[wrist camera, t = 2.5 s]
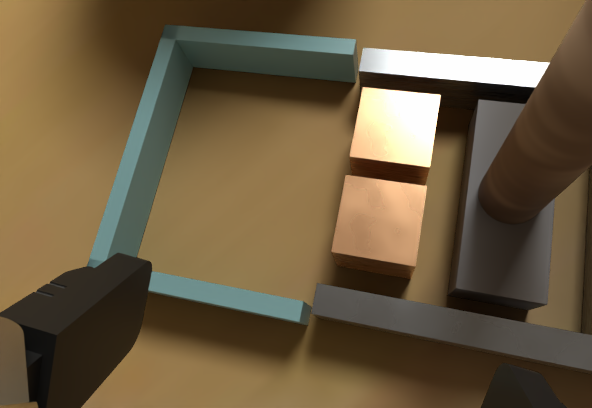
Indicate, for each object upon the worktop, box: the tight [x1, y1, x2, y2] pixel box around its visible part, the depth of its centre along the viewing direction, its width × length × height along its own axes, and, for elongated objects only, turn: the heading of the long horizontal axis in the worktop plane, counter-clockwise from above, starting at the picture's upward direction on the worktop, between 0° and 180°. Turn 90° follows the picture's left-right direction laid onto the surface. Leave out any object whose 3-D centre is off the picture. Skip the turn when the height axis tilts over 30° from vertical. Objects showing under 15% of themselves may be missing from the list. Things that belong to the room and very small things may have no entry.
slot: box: [311, 48, 592, 374], centre depth 25 cm, size 14×15×3 cm
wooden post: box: [448, 0, 592, 310], centre depth 19 cm, size 4×10×17 cm, turn 168°
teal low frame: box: [87, 25, 358, 325], centre depth 28 cm, size 12×16×3 cm
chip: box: [350, 87, 440, 186], centre depth 27 cm, size 4×4×4 cm
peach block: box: [331, 175, 427, 279], centre depth 25 cm, size 4×4×4 cm
